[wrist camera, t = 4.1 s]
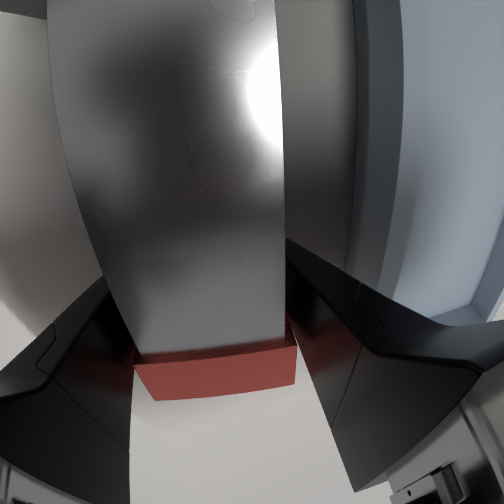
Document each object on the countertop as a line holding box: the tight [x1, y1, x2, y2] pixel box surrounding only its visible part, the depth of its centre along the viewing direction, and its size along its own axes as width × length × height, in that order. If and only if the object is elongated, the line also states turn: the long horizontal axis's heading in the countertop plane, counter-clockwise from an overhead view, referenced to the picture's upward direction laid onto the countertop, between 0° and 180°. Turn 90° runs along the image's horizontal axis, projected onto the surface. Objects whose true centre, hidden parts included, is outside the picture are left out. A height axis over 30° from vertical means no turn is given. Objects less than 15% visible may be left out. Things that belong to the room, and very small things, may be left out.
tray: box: [345, 0, 504, 326], centre depth 8 cm, size 10×19×2 cm, turn 4°
